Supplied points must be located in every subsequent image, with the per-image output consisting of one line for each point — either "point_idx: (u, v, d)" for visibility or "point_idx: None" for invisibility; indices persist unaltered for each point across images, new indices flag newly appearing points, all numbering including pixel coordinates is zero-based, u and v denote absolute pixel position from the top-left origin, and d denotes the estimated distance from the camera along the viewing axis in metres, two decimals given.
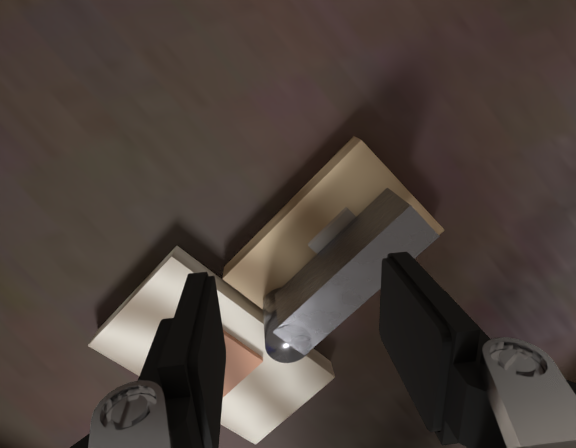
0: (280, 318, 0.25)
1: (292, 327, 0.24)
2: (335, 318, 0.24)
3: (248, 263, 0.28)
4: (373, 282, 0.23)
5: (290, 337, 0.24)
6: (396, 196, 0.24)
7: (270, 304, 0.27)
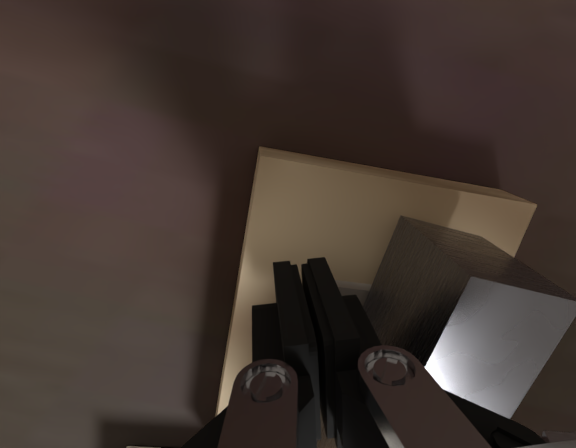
0: None
1: None
2: None
3: None
4: None
5: None
6: (426, 242, 0.10)
7: None
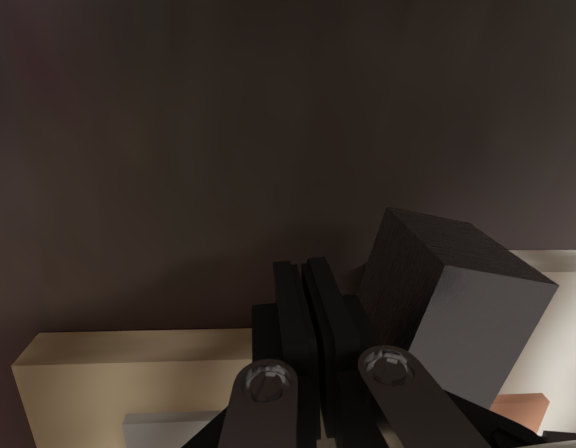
0: None
1: None
2: None
3: None
4: None
5: None
6: (408, 233, 0.10)
7: None
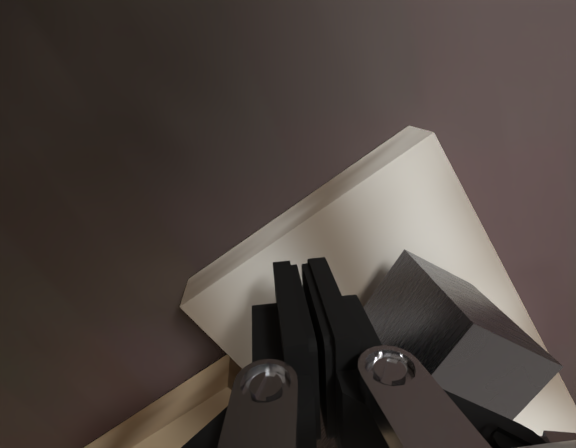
0: None
1: None
2: None
3: None
4: None
5: None
6: (429, 281, 0.10)
7: None
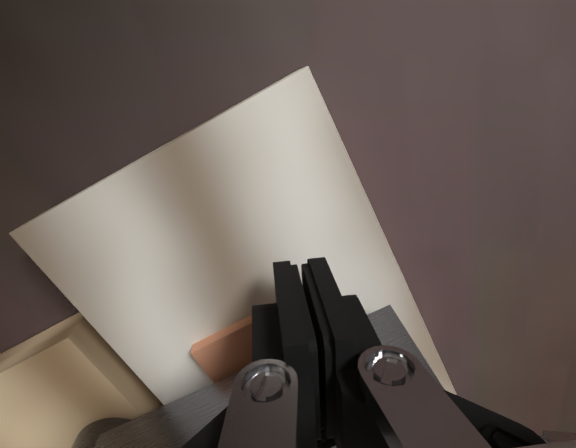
0: None
1: None
2: None
3: None
4: None
5: None
6: (410, 342, 0.11)
7: None
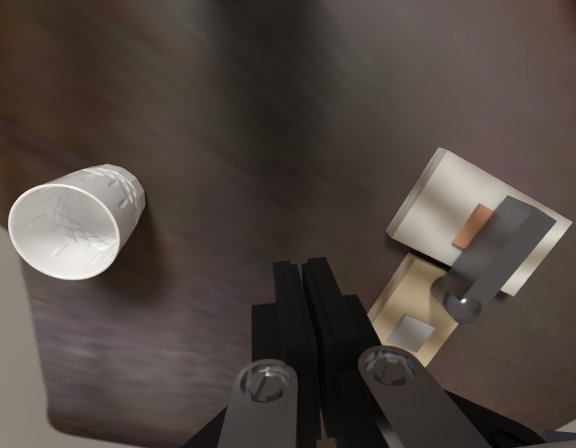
0: (458, 296, 0.38)
1: (468, 299, 0.37)
2: (495, 288, 0.37)
3: None
4: (517, 259, 0.36)
5: (467, 306, 0.37)
6: (519, 201, 0.36)
7: (441, 288, 0.40)
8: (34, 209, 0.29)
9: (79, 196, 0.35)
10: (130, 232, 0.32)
